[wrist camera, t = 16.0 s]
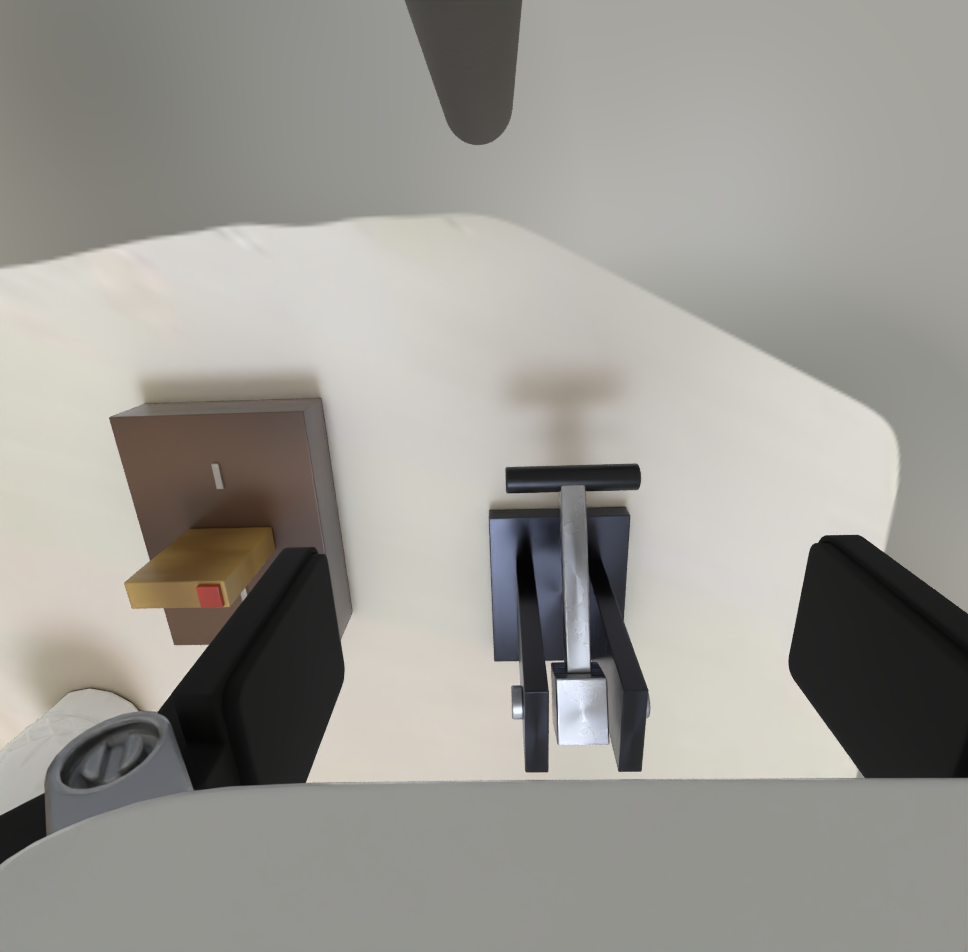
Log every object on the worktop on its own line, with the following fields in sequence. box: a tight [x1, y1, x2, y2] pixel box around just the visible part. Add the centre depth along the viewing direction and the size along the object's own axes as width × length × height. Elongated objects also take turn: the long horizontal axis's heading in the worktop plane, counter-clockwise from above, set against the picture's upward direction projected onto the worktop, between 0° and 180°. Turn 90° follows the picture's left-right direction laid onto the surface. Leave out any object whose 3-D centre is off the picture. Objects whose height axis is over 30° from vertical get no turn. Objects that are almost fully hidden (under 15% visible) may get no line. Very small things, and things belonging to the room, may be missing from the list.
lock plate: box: [109, 398, 352, 645], centre depth 31 cm, size 14×10×3 cm
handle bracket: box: [489, 507, 650, 772], centre depth 28 cm, size 10×8×12 cm
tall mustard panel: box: [124, 527, 275, 609], centre depth 27 cm, size 5×1×6 cm, turn 92°
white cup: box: [0, 689, 138, 815], centre depth 34 cm, size 8×8×10 cm
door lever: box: [506, 464, 641, 745], centre depth 25 cm, size 12×6×2 cm, turn 3°
